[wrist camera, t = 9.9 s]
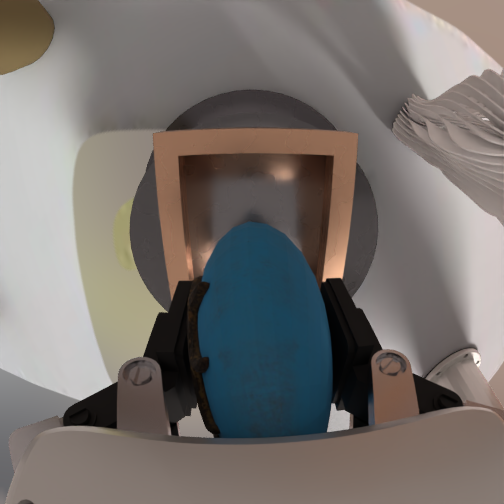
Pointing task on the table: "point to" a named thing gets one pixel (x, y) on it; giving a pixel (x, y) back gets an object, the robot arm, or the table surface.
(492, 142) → the shell sculpture
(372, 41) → the table surface
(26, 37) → the squeeze bottle
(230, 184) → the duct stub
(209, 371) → the ornament
